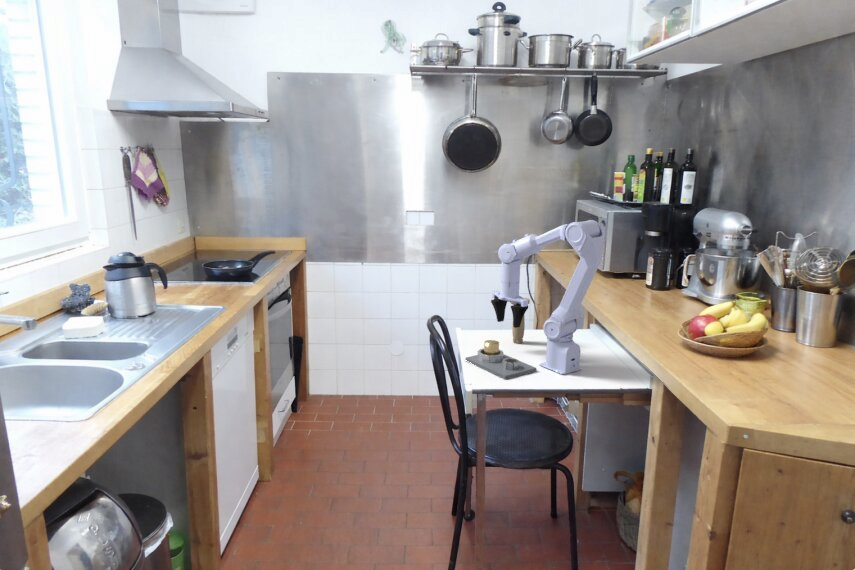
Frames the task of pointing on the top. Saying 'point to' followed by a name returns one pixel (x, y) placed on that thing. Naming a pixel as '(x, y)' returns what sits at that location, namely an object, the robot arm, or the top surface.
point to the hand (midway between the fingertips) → (508, 324)
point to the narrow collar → (510, 363)
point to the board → (497, 367)
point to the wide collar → (489, 357)
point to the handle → (519, 329)
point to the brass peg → (491, 347)
